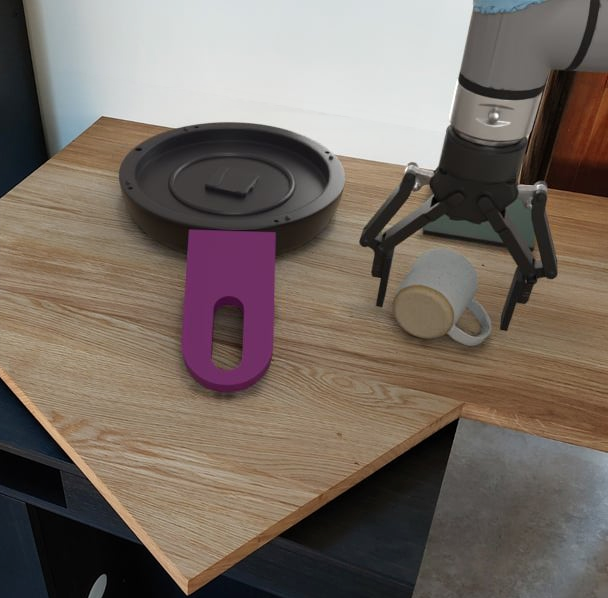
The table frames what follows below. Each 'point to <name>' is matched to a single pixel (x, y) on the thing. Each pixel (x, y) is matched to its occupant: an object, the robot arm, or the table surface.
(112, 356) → the table surface
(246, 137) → the round tray
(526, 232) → the mat
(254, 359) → the mounting bracket
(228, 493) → the table surface
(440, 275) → the ceramic mug
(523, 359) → the table surface
